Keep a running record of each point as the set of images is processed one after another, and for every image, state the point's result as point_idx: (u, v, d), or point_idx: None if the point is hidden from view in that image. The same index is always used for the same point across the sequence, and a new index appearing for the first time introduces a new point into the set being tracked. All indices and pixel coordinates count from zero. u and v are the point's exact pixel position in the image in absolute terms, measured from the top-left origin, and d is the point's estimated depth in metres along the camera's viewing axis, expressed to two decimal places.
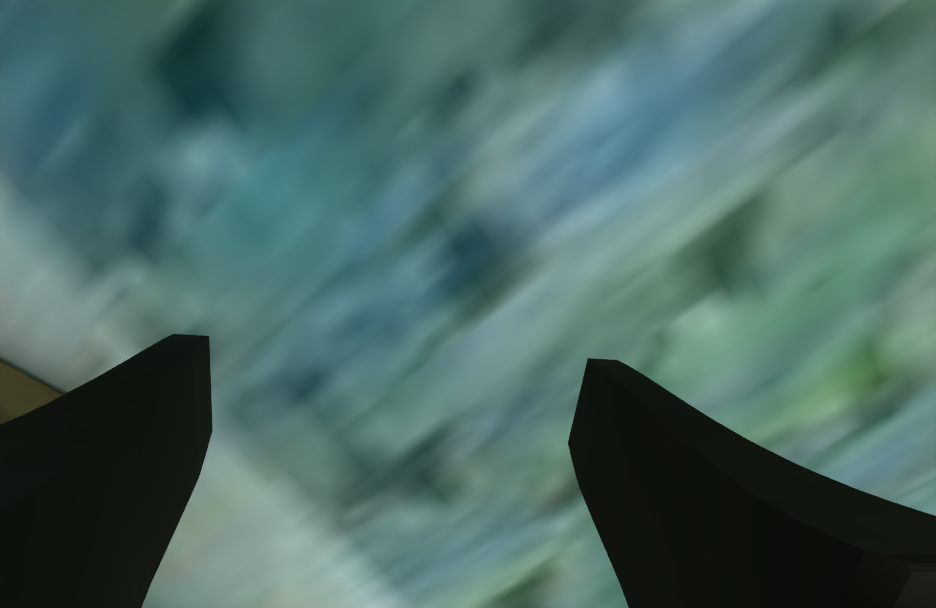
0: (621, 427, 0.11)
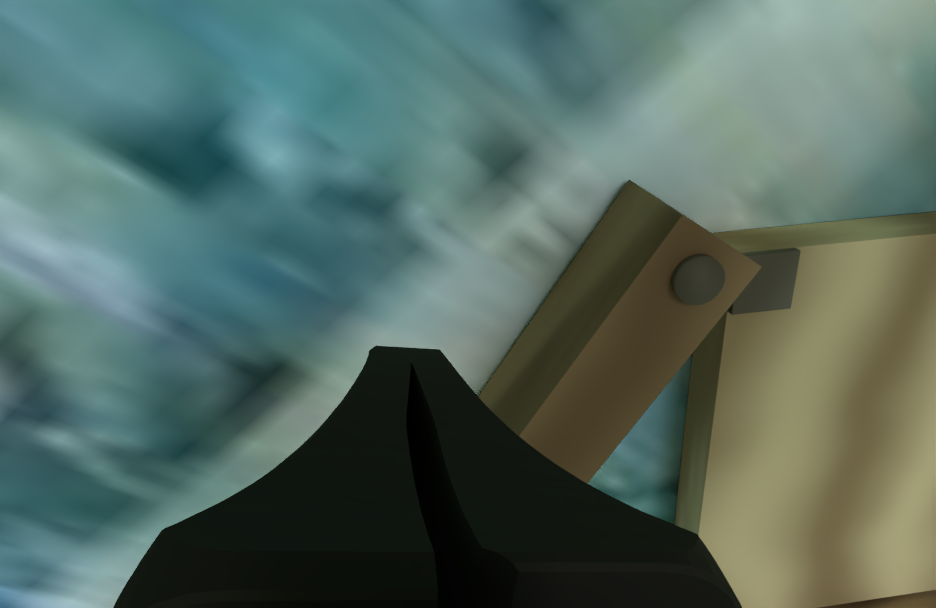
0: (415, 418, 0.10)
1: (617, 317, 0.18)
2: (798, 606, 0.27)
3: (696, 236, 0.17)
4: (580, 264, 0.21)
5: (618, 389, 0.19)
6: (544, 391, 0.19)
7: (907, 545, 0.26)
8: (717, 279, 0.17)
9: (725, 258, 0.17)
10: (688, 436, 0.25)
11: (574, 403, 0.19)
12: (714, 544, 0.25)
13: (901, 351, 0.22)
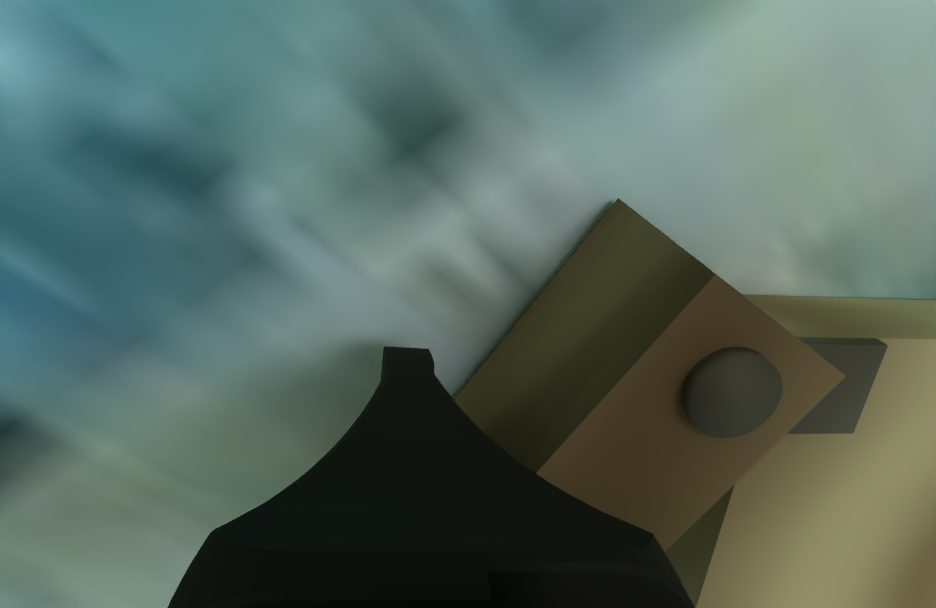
0: None
1: (578, 449, 0.10)
2: None
3: (738, 315, 0.09)
4: (528, 331, 0.12)
5: None
6: None
7: None
8: (767, 396, 0.09)
9: (784, 357, 0.09)
10: None
11: None
12: None
13: None
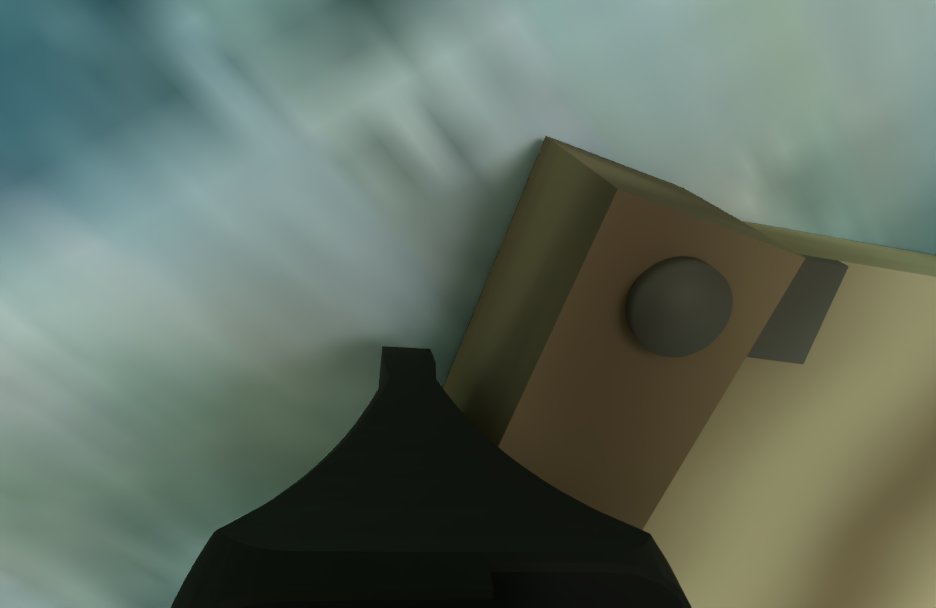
0: None
1: (538, 402, 0.09)
2: None
3: (659, 225, 0.08)
4: (491, 294, 0.12)
5: None
6: None
7: None
8: (717, 301, 0.09)
9: (727, 256, 0.09)
10: None
11: None
12: None
13: None
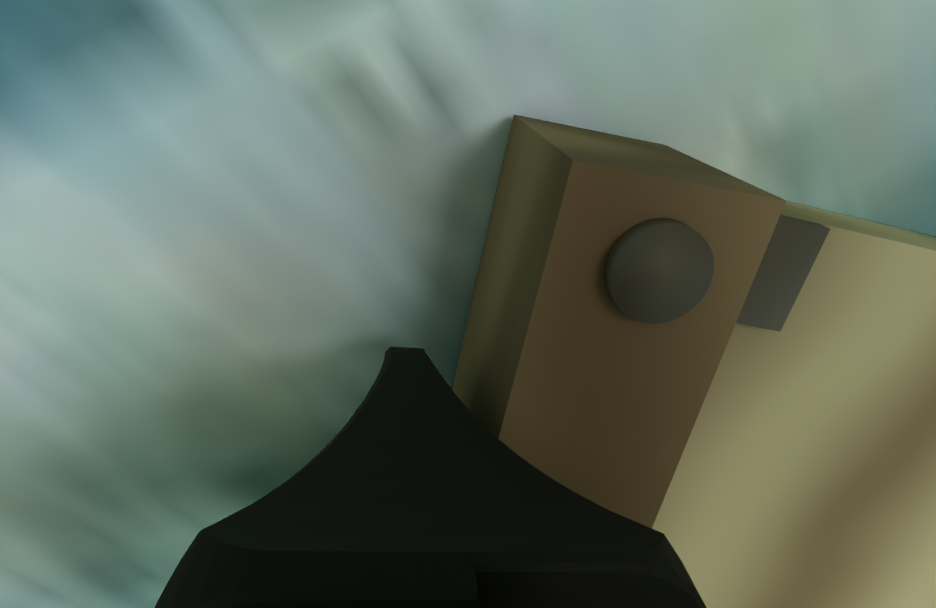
0: None
1: (531, 386, 0.09)
2: None
3: (622, 191, 0.08)
4: (483, 282, 0.12)
5: (590, 498, 0.10)
6: None
7: None
8: (696, 259, 0.08)
9: (701, 211, 0.08)
10: None
11: None
12: None
13: (913, 457, 0.14)
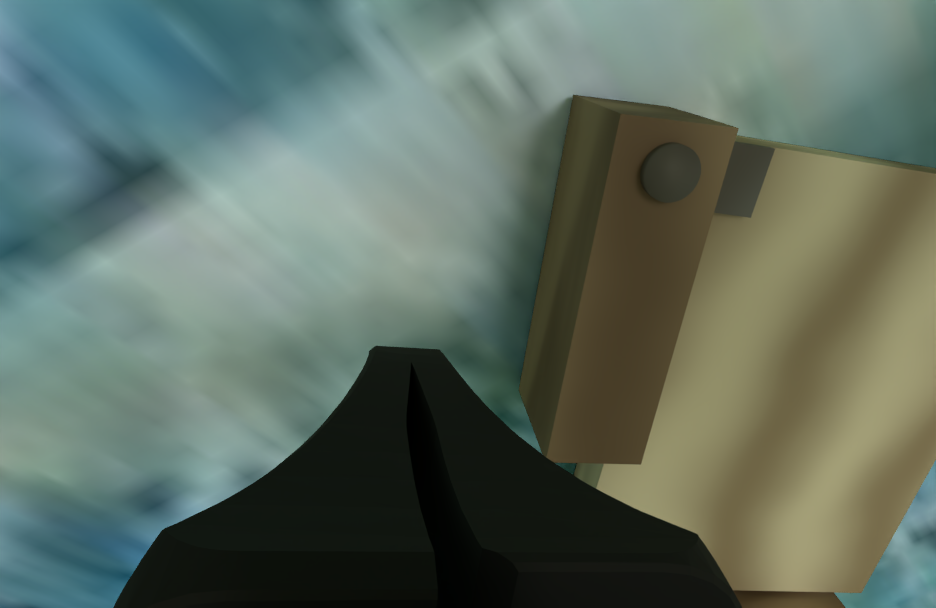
0: (415, 419, 0.10)
1: (602, 247, 0.16)
2: None
3: (647, 128, 0.15)
4: (559, 203, 0.19)
5: (639, 318, 0.17)
6: (565, 348, 0.18)
7: (812, 535, 0.25)
8: (691, 163, 0.15)
9: (691, 137, 0.15)
10: None
11: (600, 348, 0.17)
12: (614, 491, 0.22)
13: (852, 303, 0.20)
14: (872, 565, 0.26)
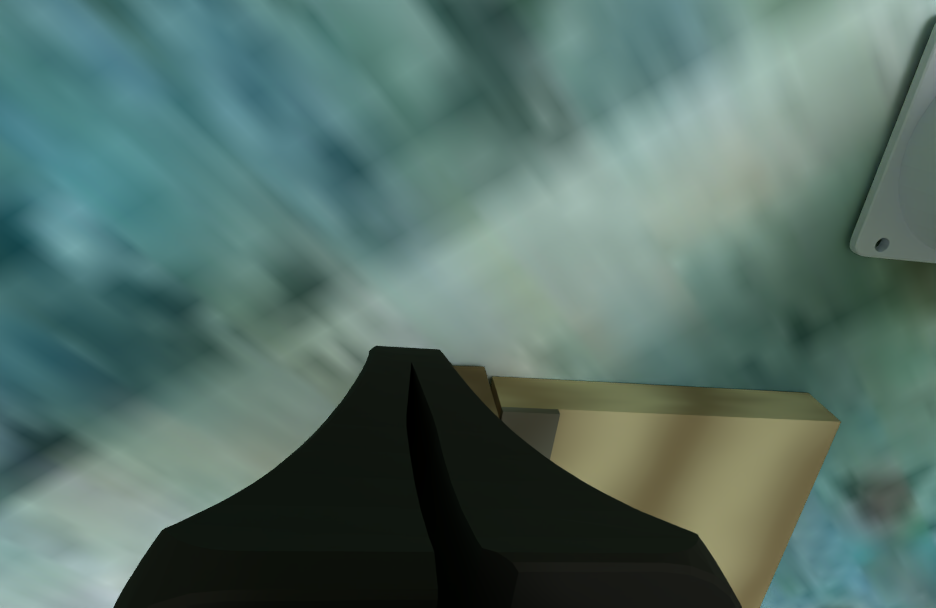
0: (415, 418, 0.10)
1: None
2: None
3: None
4: None
5: None
6: None
7: None
8: None
9: None
10: None
11: None
12: None
13: (654, 510, 0.24)
14: None
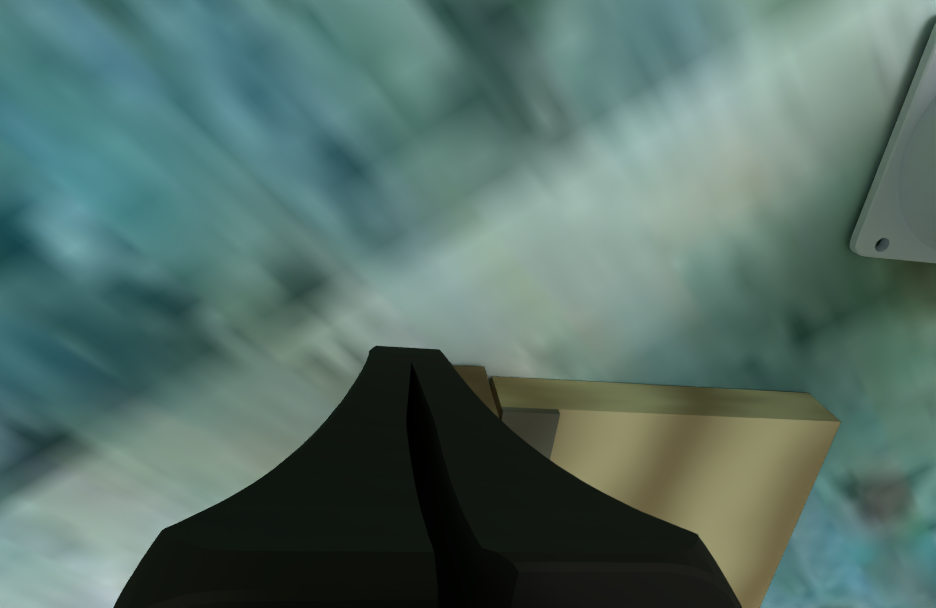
0: (415, 418, 0.10)
1: None
2: None
3: None
4: None
5: None
6: None
7: None
8: None
9: None
10: None
11: None
12: None
13: (654, 510, 0.24)
14: None
